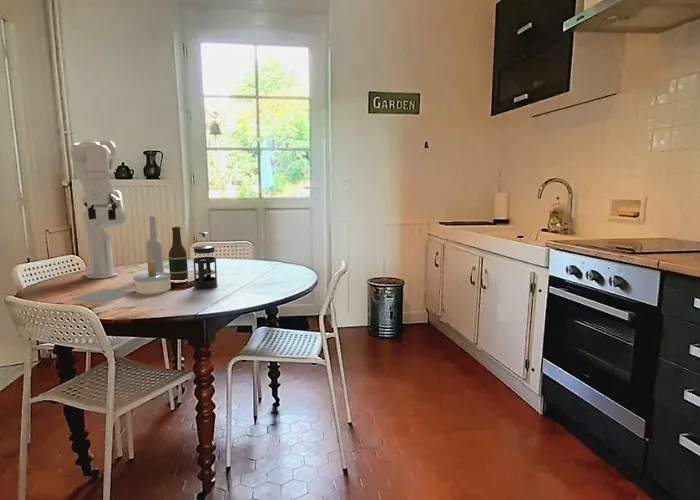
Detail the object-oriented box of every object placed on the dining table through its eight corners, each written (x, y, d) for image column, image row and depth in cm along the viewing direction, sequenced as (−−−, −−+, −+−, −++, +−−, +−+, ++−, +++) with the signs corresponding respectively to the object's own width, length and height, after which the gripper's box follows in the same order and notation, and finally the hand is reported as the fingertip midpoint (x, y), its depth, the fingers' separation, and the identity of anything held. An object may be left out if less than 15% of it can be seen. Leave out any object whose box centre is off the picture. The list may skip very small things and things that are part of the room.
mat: (70, 300, 167) (70, 298, 167) (104, 290, 182) (104, 288, 182) (106, 303, 163) (106, 302, 162) (137, 293, 178) (137, 291, 178)
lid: (125, 280, 175) (124, 263, 174) (149, 273, 188) (148, 257, 187) (155, 282, 172) (154, 265, 170) (177, 275, 185) (176, 258, 183)
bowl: (129, 294, 176) (128, 280, 175) (150, 286, 188) (149, 273, 187) (156, 296, 173) (155, 282, 172) (176, 288, 185) (175, 275, 184)
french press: (198, 283, 194) (196, 230, 190) (220, 283, 194) (218, 230, 190) (189, 290, 182) (186, 233, 178) (213, 290, 182) (210, 233, 179)
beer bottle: (191, 279, 201) (188, 226, 198) (183, 283, 194) (180, 228, 190) (175, 279, 202) (171, 226, 198) (166, 283, 195) (162, 227, 191)
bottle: (145, 278, 204) (140, 216, 199) (156, 275, 210) (152, 215, 206) (156, 279, 201) (152, 216, 197) (167, 276, 208) (163, 215, 203)
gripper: (73, 176, 178) (77, 219, 180) (109, 176, 173) (113, 220, 176) (88, 176, 185) (92, 218, 188) (123, 176, 181) (127, 219, 183)
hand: (102, 219), depth 182 cm, fingers open, 9 cm apart
